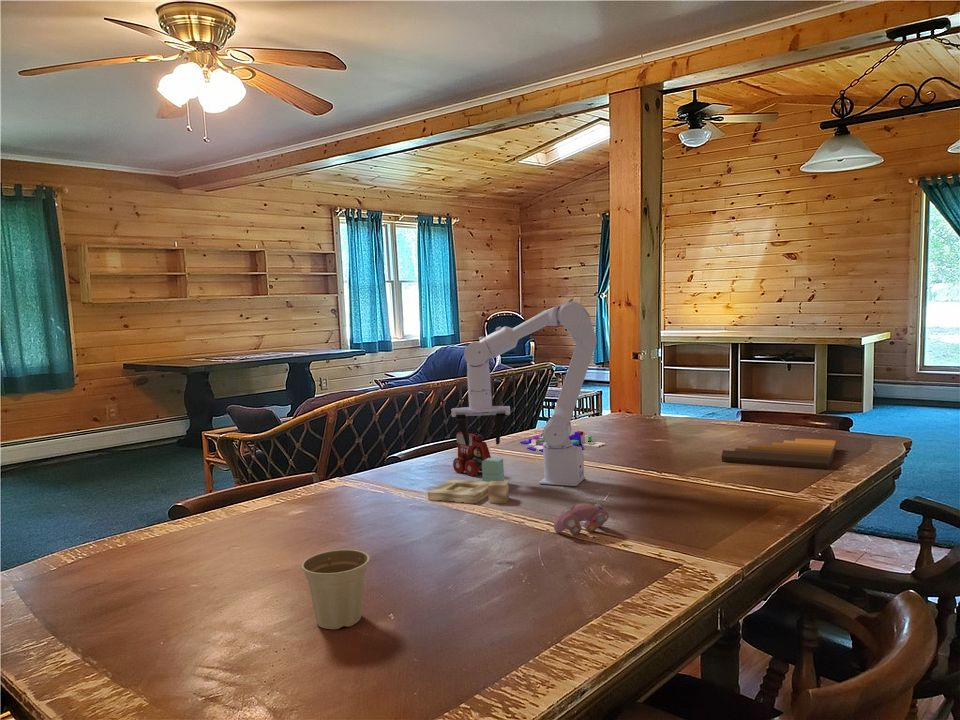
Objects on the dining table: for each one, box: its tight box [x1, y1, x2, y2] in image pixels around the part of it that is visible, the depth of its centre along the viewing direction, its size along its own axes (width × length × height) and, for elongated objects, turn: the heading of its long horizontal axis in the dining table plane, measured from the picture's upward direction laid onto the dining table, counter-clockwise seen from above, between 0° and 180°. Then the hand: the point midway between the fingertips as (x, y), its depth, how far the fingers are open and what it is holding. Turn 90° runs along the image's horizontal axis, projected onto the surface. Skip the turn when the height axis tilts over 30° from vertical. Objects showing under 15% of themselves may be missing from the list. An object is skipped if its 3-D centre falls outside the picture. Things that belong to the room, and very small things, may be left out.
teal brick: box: [481, 457, 505, 482], centre depth 168 cm, size 4×4×6 cm
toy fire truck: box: [452, 431, 492, 477], centre depth 181 cm, size 7×12×10 cm, turn 40°
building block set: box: [519, 430, 607, 453], centre depth 211 cm, size 25×20×4 cm
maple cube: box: [487, 480, 510, 504], centre depth 153 cm, size 4×4×4 cm
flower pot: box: [301, 549, 371, 630], centre depth 96 cm, size 9×9×9 cm
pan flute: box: [721, 437, 837, 470], centre depth 182 cm, size 25×3×25 cm
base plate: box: [427, 479, 490, 504], centre depth 159 cm, size 12×12×2 cm
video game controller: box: [553, 502, 610, 535], centre depth 128 cm, size 10×5×7 cm, turn 106°
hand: (482, 444), depth 170 cm, fingers open, 7 cm apart
